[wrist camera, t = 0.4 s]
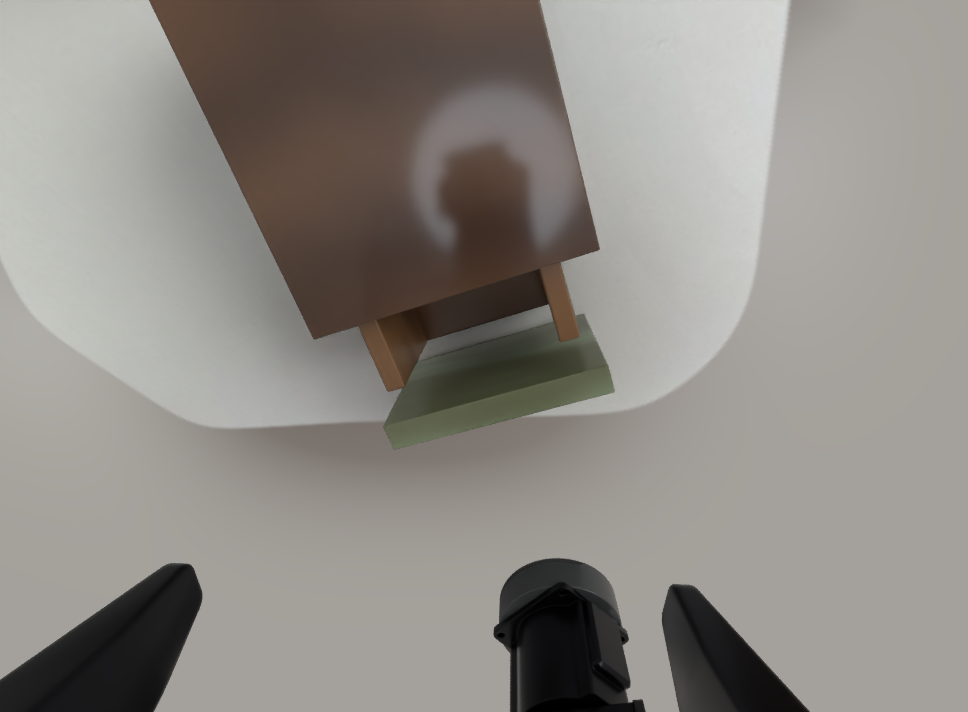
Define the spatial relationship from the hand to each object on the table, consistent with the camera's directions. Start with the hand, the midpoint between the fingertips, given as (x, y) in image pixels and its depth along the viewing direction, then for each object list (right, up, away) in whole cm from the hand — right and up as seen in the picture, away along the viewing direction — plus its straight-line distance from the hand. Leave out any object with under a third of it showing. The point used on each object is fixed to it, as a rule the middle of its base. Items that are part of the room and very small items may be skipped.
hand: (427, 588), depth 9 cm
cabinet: (-2, +16, +13) cm, 21 cm away
